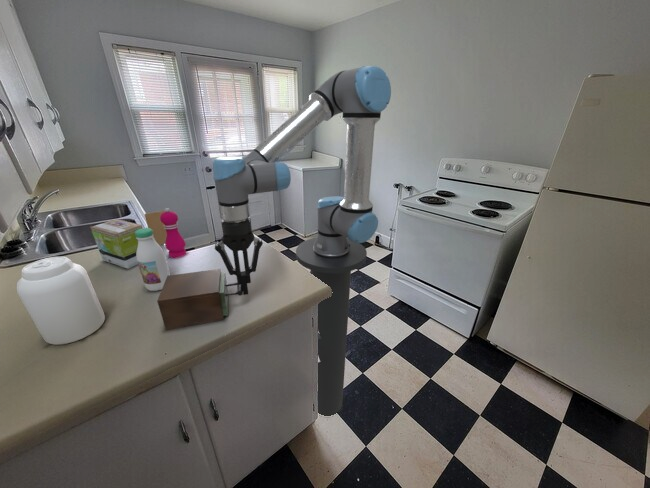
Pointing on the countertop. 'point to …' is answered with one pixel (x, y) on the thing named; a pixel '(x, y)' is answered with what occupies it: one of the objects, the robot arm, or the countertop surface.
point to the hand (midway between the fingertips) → (245, 292)
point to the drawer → (224, 292)
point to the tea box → (117, 242)
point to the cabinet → (191, 299)
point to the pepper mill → (173, 234)
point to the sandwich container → (156, 226)
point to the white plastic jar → (60, 300)
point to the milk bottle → (151, 260)
